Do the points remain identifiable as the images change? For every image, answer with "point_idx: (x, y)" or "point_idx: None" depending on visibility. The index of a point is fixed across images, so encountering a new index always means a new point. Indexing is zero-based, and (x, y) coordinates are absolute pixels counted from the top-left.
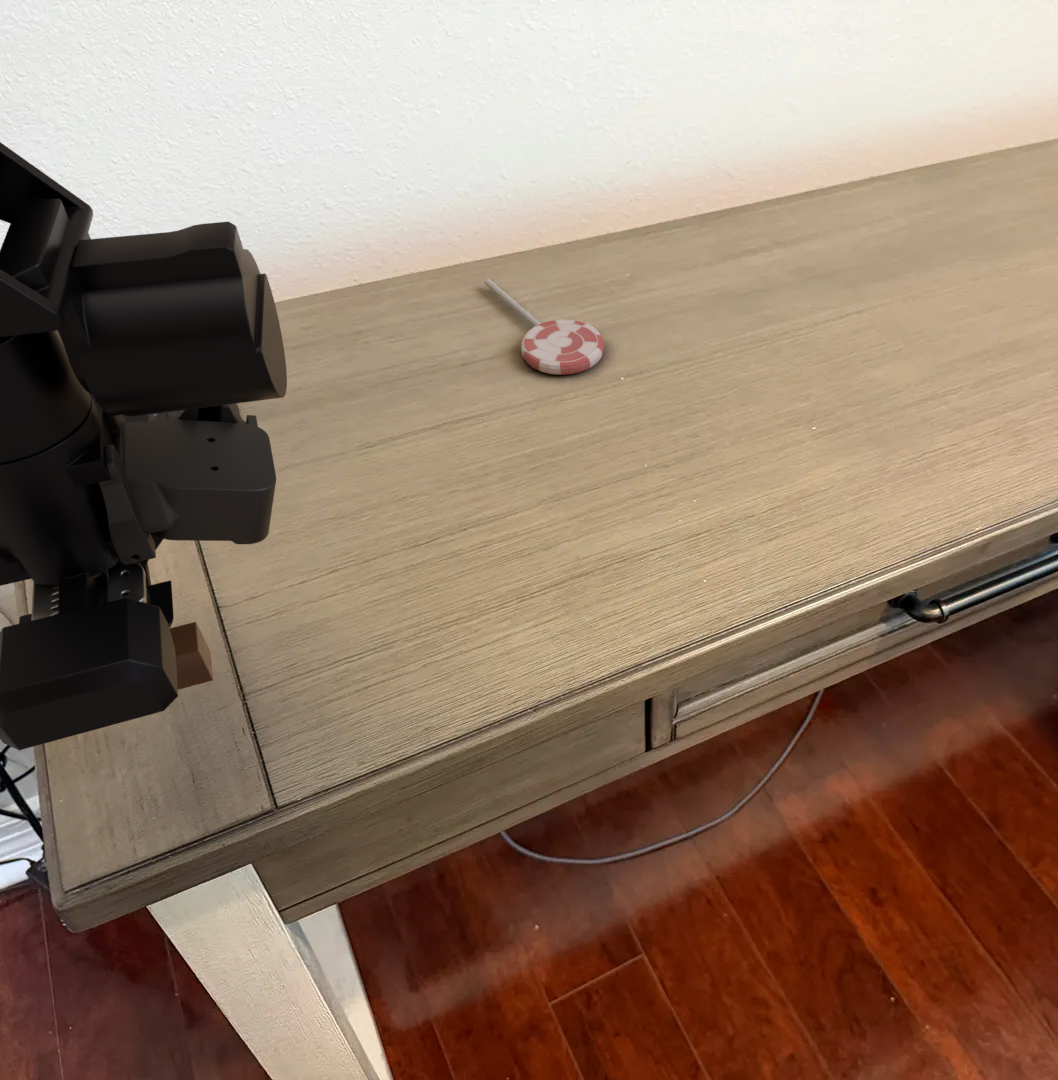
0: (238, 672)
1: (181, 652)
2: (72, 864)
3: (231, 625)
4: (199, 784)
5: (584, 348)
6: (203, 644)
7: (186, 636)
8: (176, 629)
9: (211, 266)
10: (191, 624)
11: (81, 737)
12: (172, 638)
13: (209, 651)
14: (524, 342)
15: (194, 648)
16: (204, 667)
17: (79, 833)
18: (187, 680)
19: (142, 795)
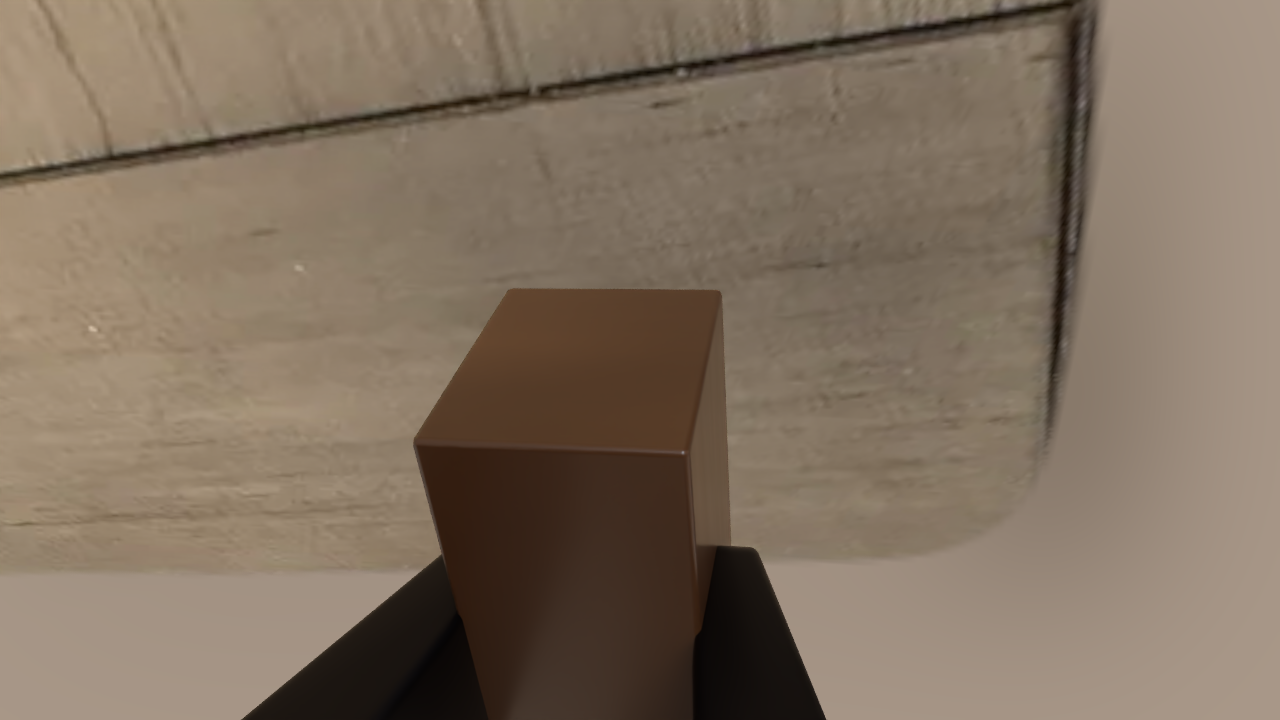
0: (399, 108)
1: (668, 534)
2: (963, 541)
3: (188, 120)
4: (839, 251)
5: None
6: (538, 363)
7: (533, 497)
8: (465, 541)
9: None
10: (434, 466)
11: None
12: (537, 565)
13: (525, 300)
14: None
15: (657, 469)
16: (706, 362)
17: (872, 524)
18: (721, 418)
19: (812, 394)
